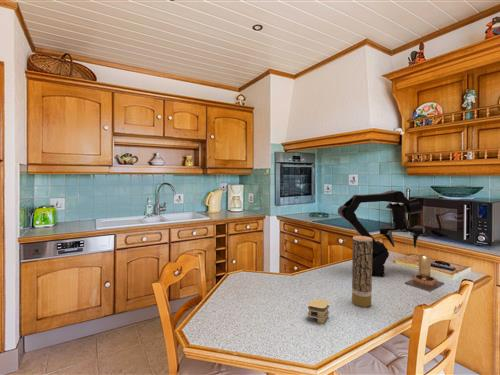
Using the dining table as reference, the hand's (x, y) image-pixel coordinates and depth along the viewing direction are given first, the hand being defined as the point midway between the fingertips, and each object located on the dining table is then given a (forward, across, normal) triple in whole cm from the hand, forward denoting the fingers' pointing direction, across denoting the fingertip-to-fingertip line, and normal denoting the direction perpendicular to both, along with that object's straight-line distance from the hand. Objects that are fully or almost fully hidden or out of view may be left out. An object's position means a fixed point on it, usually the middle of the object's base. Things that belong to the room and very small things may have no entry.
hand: (404, 247), depth 131 cm
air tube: (+13, -8, +9) cm, 18 cm away
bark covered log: (+7, +8, +46) cm, 47 cm away
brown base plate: (+14, -8, +9) cm, 18 cm away
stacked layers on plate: (+4, +15, +66) cm, 68 cm away
